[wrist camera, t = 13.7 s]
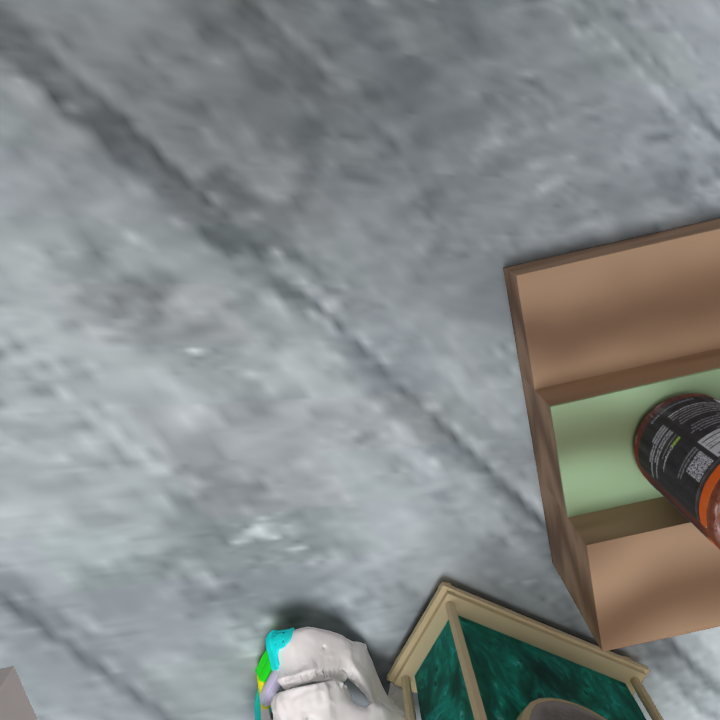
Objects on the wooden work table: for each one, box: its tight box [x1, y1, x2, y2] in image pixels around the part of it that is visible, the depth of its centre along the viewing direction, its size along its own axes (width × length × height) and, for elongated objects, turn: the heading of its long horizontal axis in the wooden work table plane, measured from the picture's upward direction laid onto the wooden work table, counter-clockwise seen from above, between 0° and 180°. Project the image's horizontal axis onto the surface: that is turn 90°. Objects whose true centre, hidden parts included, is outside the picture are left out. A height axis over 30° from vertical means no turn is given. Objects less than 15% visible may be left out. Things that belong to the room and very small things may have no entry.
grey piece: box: [255, 627, 406, 720], centre depth 46 cm, size 12×9×10 cm
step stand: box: [503, 218, 720, 652], centre depth 40 cm, size 21×18×9 cm
